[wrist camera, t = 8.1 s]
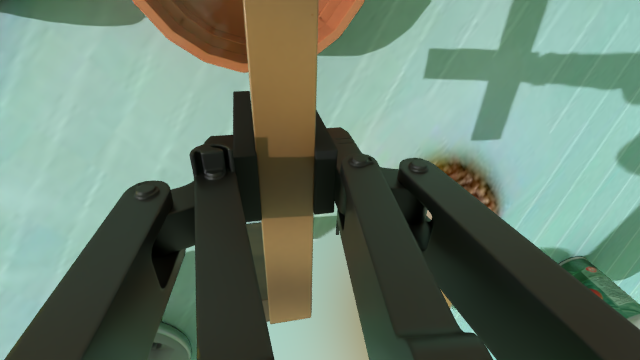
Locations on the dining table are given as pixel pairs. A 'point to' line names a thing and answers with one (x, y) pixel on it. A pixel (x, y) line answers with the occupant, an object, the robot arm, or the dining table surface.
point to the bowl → (231, 26)
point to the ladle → (284, 144)
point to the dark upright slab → (259, 262)
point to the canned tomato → (603, 288)
